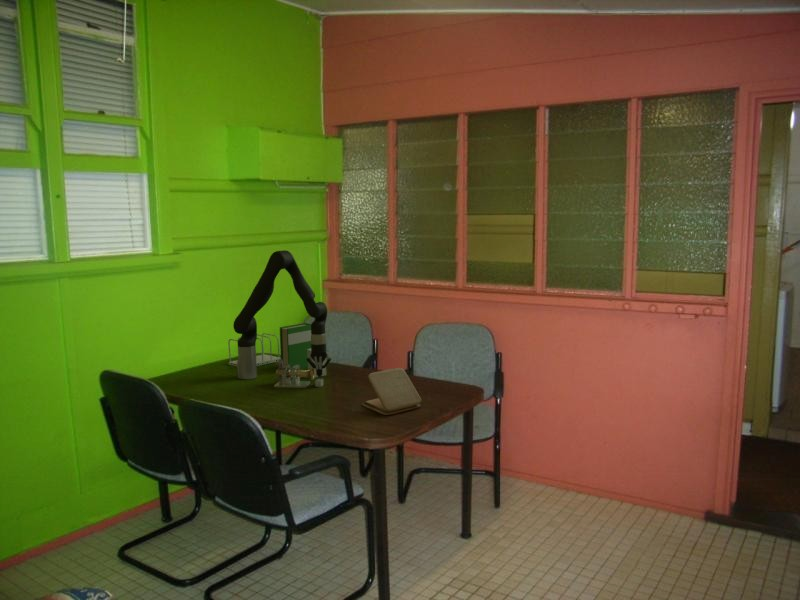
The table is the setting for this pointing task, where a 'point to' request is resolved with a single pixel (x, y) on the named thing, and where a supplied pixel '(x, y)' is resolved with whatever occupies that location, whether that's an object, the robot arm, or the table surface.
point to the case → (392, 392)
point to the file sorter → (259, 358)
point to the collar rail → (293, 377)
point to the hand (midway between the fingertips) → (319, 376)
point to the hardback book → (295, 344)
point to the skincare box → (314, 363)
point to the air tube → (298, 373)
